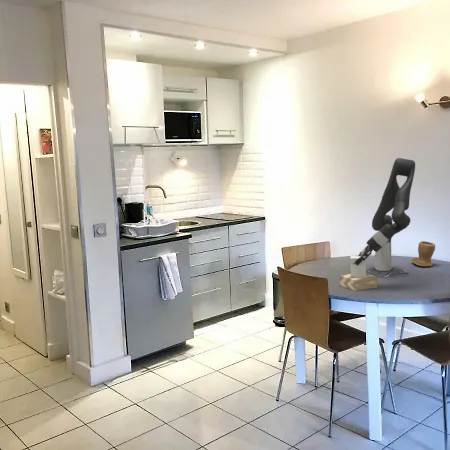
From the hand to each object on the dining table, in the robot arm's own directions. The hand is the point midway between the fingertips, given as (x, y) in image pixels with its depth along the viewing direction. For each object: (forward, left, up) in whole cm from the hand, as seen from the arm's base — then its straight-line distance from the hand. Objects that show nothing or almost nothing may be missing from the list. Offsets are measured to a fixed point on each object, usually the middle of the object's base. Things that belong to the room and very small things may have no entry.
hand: (355, 262), depth 271 cm
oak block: (+1, +1, -13) cm, 13 cm away
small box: (+1, +1, -8) cm, 8 cm away
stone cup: (-26, +63, -13) cm, 70 cm away
